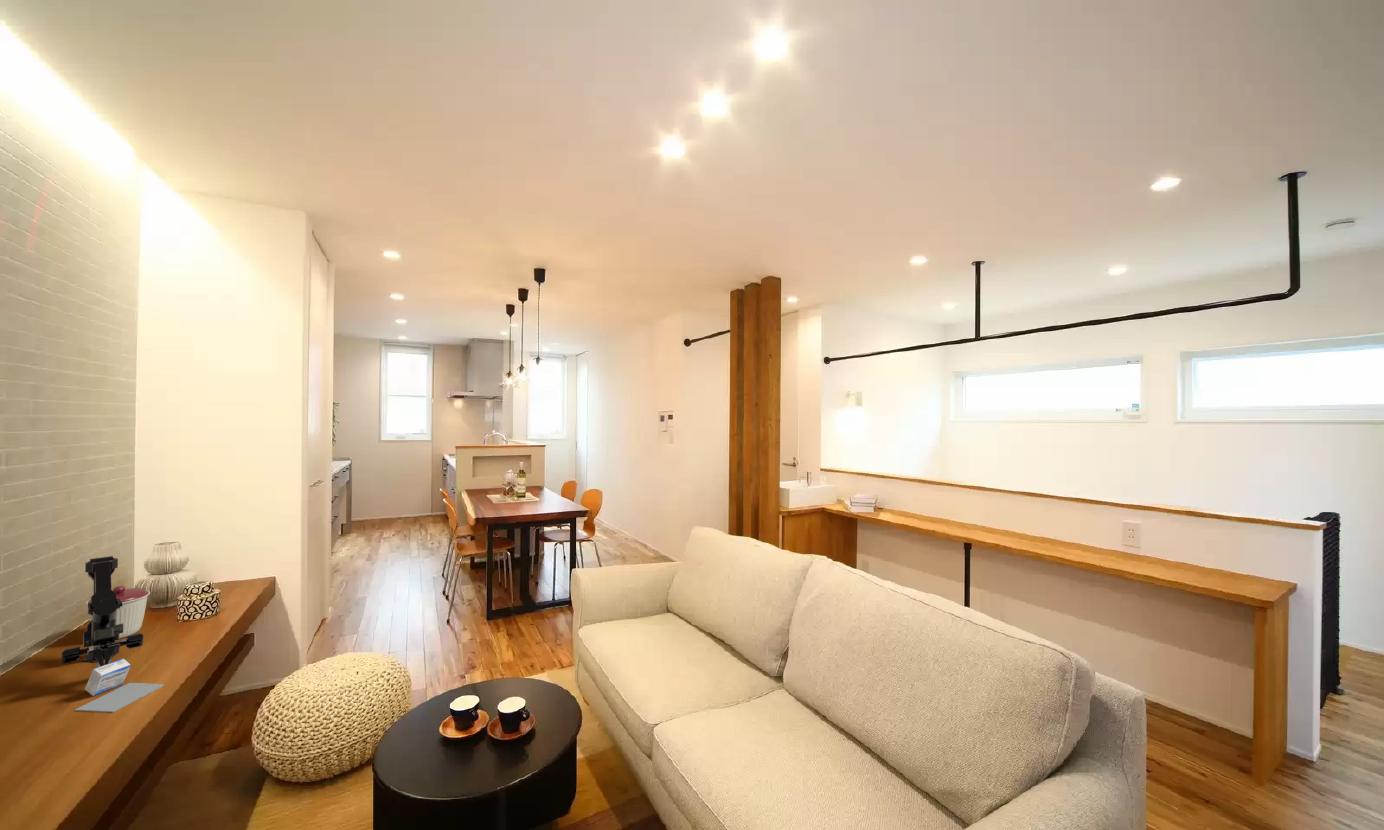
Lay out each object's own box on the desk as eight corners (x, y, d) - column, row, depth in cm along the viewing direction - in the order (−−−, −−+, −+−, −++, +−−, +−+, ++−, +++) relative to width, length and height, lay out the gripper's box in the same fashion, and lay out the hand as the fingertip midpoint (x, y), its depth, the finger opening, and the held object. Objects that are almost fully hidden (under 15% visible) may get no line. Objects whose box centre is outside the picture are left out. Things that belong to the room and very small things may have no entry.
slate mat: (74, 710, 163) (74, 709, 163) (129, 683, 179) (129, 682, 179) (112, 712, 163) (112, 711, 163) (164, 685, 179) (164, 684, 179)
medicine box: (92, 696, 171) (101, 675, 170) (84, 689, 171) (93, 668, 170) (122, 684, 178) (131, 664, 177) (114, 677, 179) (123, 657, 178)
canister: (81, 636, 211) (83, 586, 210) (144, 622, 225) (146, 576, 225) (87, 649, 200) (88, 597, 200) (152, 634, 215) (154, 585, 215)
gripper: (62, 626, 170) (61, 669, 164) (143, 610, 185) (145, 650, 178) (62, 641, 175) (60, 684, 169) (141, 625, 190) (142, 664, 183)
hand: (104, 670), depth 174 cm, fingers closed
